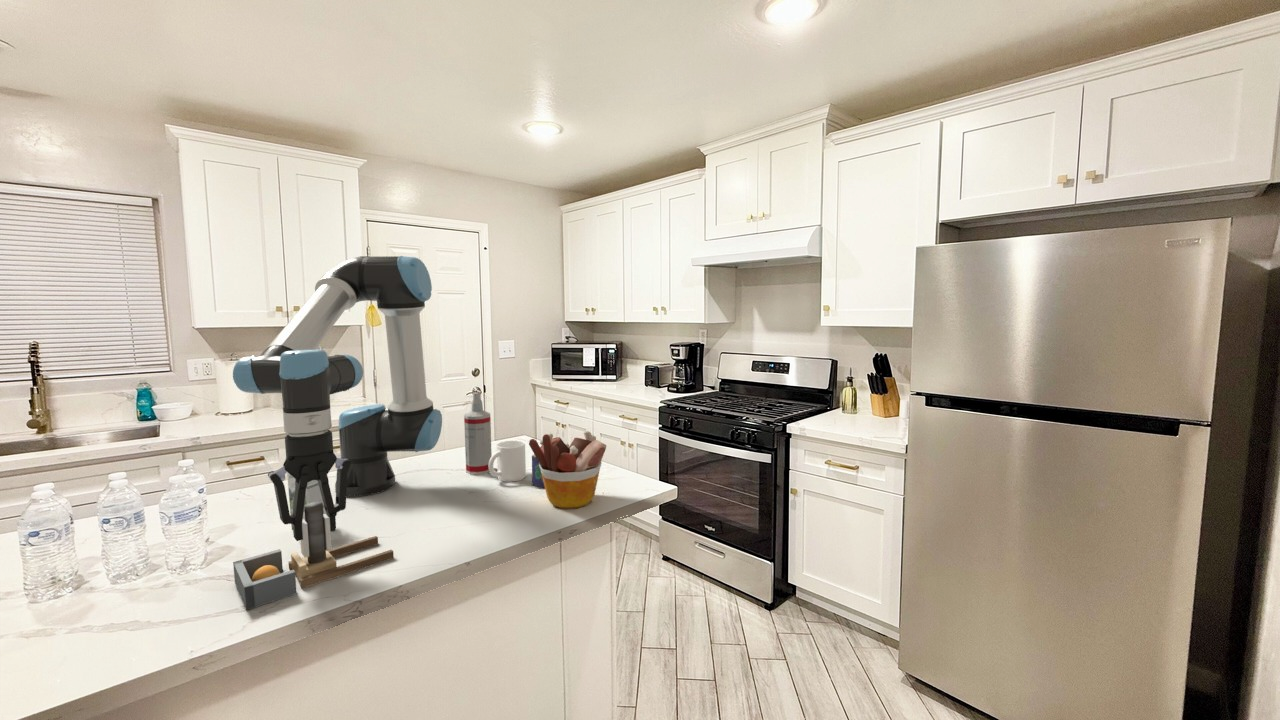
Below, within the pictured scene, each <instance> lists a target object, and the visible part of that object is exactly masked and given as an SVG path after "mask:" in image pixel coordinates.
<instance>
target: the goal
mask: <svg viewBox="0 0 1280 720" xmlns="http://www.w3.org/2000/svg"><path fill="white" fill-rule="evenodd" d="M232 563H233V576H234V584H235V586H236V589H237V591H238V593H239V596H240V598H241V601H242V603H243V605H244V608H245V611H248V610H251V609H254V608H257V607H259V606H264V605H266V604H269V603H272V602H274V601H277V600H281V599H283V598H287V597H289V596H290V597H291V596H293V595H295V594H297V580H296V578H297V577H296V575H295V571H294V570H291V571H290V570H289V571H284V569H283V555H282V550H281V548H279V549H276V550H272V551H268V552H264V553H261V554H257V555H254V556H250V557H247V558H244V559H240V560H235V561H233V562H232ZM266 565H272V566H275V567H276V568H277V569H278V570H279V574H277V575H274V576H271V577H268V578H264V579H261V580H258V581H255V582H252V578H253V575H254V573H255V572H256V571H257V570H258V569H259V568H261V567H263V566H266ZM280 572H282V573H280Z"/></svg>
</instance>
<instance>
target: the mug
mask: <svg viewBox="0 0 1280 720" xmlns="http://www.w3.org/2000/svg"><path fill="white" fill-rule="evenodd" d="M495 460H496V464H497V465H496V467H497V468H496V469H497V471H495V469H494V463H495ZM526 461H527V460H526V443H525V441H521V440H507V441H502V442H499V443H497V444H496V452H494V453H493V454H492V456H491V458H490V460H489V471H490V472H489V473H490V474H491V475H492V476H493V477H497V479H498V480H499V481H502V482H505V483H506V482H507V483H508V482H510V483H511V482H518V481H521V480H523V479H524V478H525V477H526V475H527V471H526V469H527V464H526V463H527V462H526Z"/></svg>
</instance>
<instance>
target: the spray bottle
mask: <svg viewBox="0 0 1280 720" xmlns="http://www.w3.org/2000/svg"><path fill="white" fill-rule="evenodd" d="M481 395H482V394H481V392H472V401H471V410H470V411H468V412H467V413H464V415H463V420H464V421H463V422H464V423H463V424H464V447H465V449H464V450H465V473H466V474H467V473H468V474H467V475H469V474H470V476H481V474H482V475H486V473H487V474H489V473H490V471H489V460H490V458H491V456H492V455H493V454H492V453H493V452H492V430H491V429H492V426H491V425H492V423H491V421H492V419H491V412H489V411H485V410H484V408H483V401H482V397H481Z"/></svg>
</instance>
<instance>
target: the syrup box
mask: <svg viewBox="0 0 1280 720" xmlns="http://www.w3.org/2000/svg"><path fill="white" fill-rule="evenodd" d="M286 474H287V475H286V476H287V477H286V478H287V487H288V497H289V498H288V499H289V501H288V502H289V513H290V515H292V513H293V504H294V495H295V478H294V477H293V476H291V475H290V474H289V473H288V472H287V473H286ZM313 502H322V503H323V500H322V496H321V492H320V488H319V484H318V481H317V480H312V481H310V482H308V483H307V488H306V494H305V503H304V506H305V505H306V504H309V503H313ZM323 514H326V511H325V508H324V504H323ZM303 519H304V520H305V511H304V512H303ZM290 525H291V531H293V524H290Z"/></svg>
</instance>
